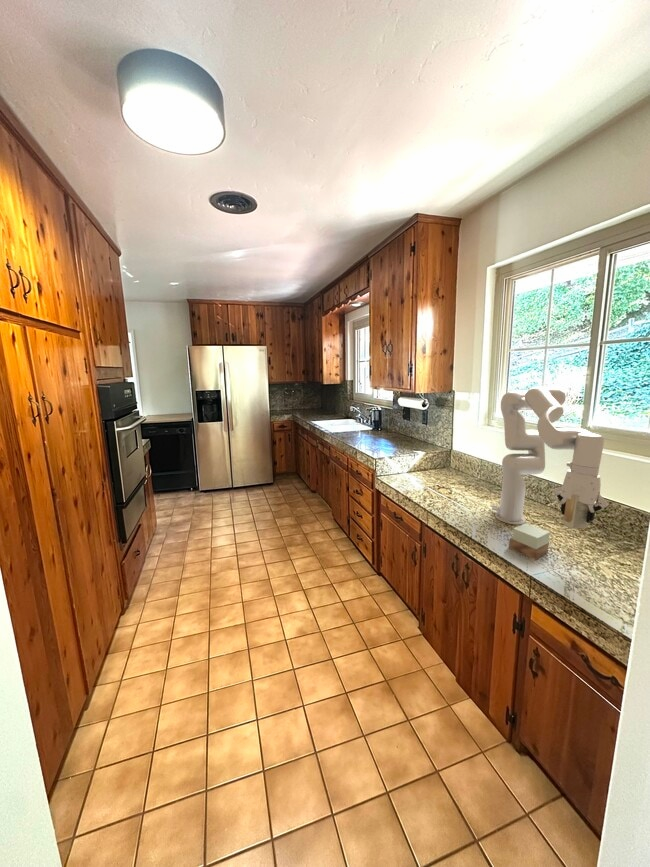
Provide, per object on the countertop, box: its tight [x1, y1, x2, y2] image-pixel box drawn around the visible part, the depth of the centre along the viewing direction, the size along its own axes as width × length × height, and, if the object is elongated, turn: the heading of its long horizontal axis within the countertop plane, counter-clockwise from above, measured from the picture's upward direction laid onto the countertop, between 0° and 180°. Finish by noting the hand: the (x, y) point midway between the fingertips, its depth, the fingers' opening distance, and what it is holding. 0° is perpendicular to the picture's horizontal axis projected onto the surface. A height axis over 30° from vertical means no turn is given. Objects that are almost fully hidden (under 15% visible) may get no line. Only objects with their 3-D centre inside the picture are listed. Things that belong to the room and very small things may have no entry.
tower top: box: [511, 522, 551, 549], centre depth 133 cm, size 9×9×4 cm
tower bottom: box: [508, 537, 550, 561], centre depth 134 cm, size 10×10×4 cm
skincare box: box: [562, 495, 590, 529], centre depth 120 cm, size 6×4×12 cm
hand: (576, 517), depth 121 cm, fingers closed on skincare box, 6 cm apart
